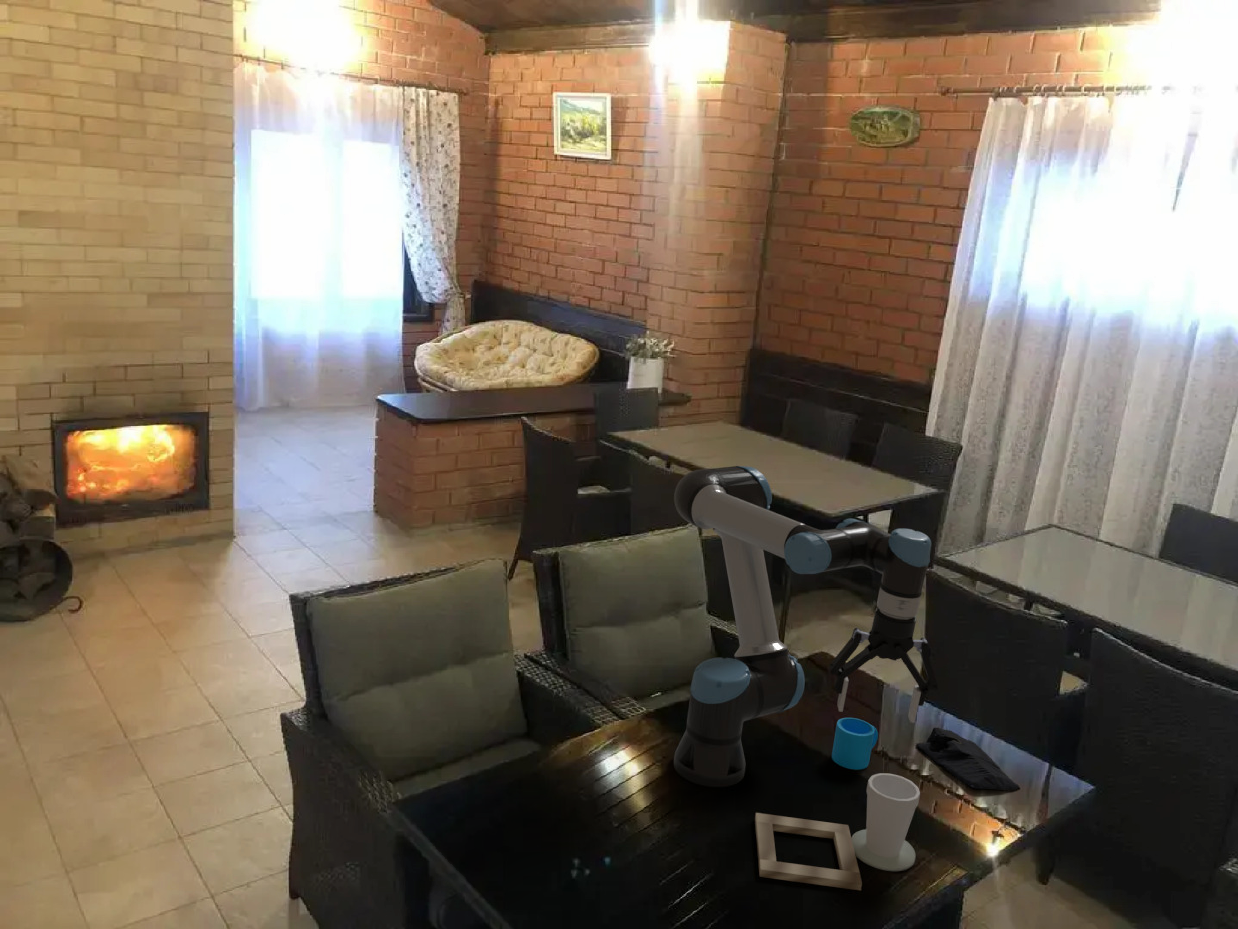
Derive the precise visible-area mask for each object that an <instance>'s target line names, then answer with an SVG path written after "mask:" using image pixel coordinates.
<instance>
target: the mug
mask: <svg viewBox="0 0 1238 929" xmlns="http://www.w3.org/2000/svg"><path fill="white" fill-rule="evenodd" d="M878 738H879V732H878V730H877V728H876V727H875V726H874V725H872V724H870V722H867V721H865V720H864V719H863V720H862V719H860V718H856V717H855V718H854V717H843V718H839V719H838V720H837V722H836V727H835V733H834V739H833V740H834V741H833V745H832V746H833V747H832V752H831V760H832V761H833V762H834V763H835V764H837V765H839V766H841V767H843V768H845V769H849V770H857V771H858V770H864V769H866V768H868V766H869V765H870V759H871V754H872V749H873V748H874V747H875V745H876V744H877V741H878Z"/></svg>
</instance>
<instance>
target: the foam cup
mask: <svg viewBox="0 0 1238 929" xmlns="http://www.w3.org/2000/svg"><path fill="white" fill-rule="evenodd" d="M866 795H867V796H866V797H867V798H866V823H865V824H866V825H865V826H866V828H865V829H866V845H867V848H868V849H869V850H870V851H871V852H872V853H874V854H876V855H877V856H881V857H884V858H894V857H896V856H898V855H899V853H900V851H901V848H902V846H903V843H904V840H906V837H907V833H908V831H909V827H910V825H911V822H912V820H913V818H914V814H915V811H916V809H917V807H918V805H919V802H920V796H921V792H920V789H919V786H917V785H916V784H915V783H914V782H913V781H912V780H910V779H908V778H906V777H903V776H902V775H897V774H894V773H881V772H880V773H875V774H872V775H871V776H870V777H869V779H868V781H867V786H866Z"/></svg>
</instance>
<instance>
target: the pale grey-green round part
mask: <svg viewBox="0 0 1238 929" xmlns="http://www.w3.org/2000/svg"><path fill="white" fill-rule="evenodd" d="M851 839H852V843H853V847H854V851H855V856H856V859H859V861H861V862H863V863H864V864H866V865H868V866H870V867H873V868H874V869H878V870H882V871H886V872H887V871H888V872H901V871H907V870H908V869H910V868H911V867H913V866H914V864H915V862H916V851H915V849H914V848H913V845H911V844H910V843H909V841H907V840H906V839H905V840H904V843H903V846H902V848H901V851H900V853H899V855H898V856H896V857H894V858H884V857H881V856H877V855H876V854H874V853H872V852H871V851H870V850H869V849H868V848H867V845H866V828H865V829H861V830H859V831H856V832H855V833H853V834H852V836H851Z"/></svg>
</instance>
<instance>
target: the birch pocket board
mask: <svg viewBox="0 0 1238 929" xmlns="http://www.w3.org/2000/svg"><path fill="white" fill-rule="evenodd" d="M754 825H755V836H756V848H757V849H756V850H757V859H758V860H757V862H758V872H759V874H758V875H759V878H760V877H761V878H768V879H775V880H782V881H788V882H796V883H804V884H811V885H816V886H817V885H819V886H825V887H826V886H827V887H834V888H840V889H845V890H856V891H862V886H863V882H862V878H861V872H860V869H859V866H858V865H859V864H858V861H857V857H856V855H855V851H854V847H853V843H852V839H851V838H852V836H851V830H850V827H849V824H842V823H836V822H835V823H834V822H828V821H827V822H826V821H819V820H812V819H804V818H800V817H799V818H797V817H788V816H783V815H776V814H775V815H774V814H769V813H761V812H755V816H754ZM774 832H780V833H787V834H795V835H803V836H810V837H817V838H823V839H824V838H825V839H831V840H833V842H834V843H833V844H834V847H835V851H836V857H837V862H838V866H839V869H836V868H835V869H834V868H828V867H822V866H821V867H819V866H814V865H813V866H812V865H805V864H800V863H799V864H798V863H792V862H791V863H790V862H783V861H777V856H776V854H777V853H776V847H775V837H774V836H775V835H774Z"/></svg>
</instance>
